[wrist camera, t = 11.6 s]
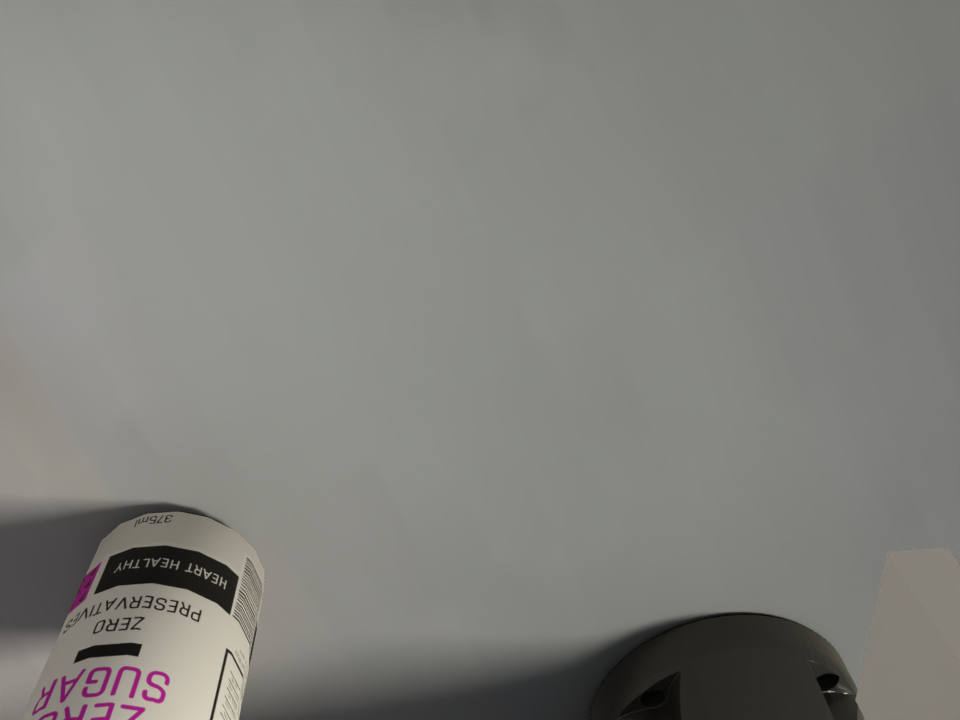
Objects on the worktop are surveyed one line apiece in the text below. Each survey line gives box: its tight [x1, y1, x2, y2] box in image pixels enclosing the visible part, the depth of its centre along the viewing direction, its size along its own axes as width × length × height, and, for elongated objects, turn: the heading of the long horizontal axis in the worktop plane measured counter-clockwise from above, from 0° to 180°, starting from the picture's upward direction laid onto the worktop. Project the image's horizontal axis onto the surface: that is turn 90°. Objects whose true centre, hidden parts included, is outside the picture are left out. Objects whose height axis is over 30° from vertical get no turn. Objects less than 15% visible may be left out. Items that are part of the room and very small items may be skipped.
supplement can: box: [21, 512, 265, 720], centre depth 38 cm, size 8×8×15 cm
